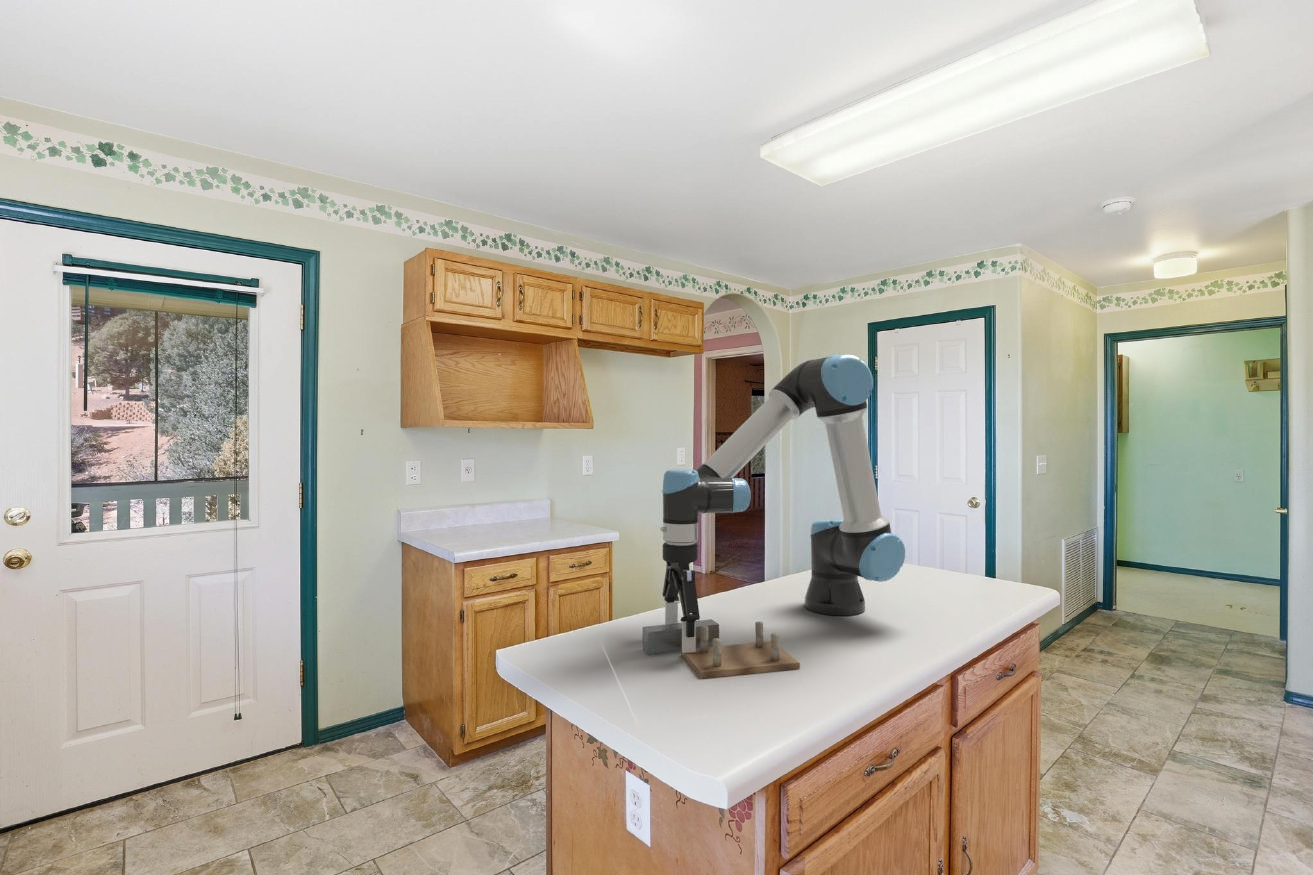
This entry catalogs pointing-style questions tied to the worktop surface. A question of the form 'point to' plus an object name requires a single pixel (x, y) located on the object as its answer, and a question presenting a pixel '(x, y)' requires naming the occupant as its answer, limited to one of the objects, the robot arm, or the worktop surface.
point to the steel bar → (674, 637)
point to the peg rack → (739, 656)
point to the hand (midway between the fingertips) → (679, 641)
